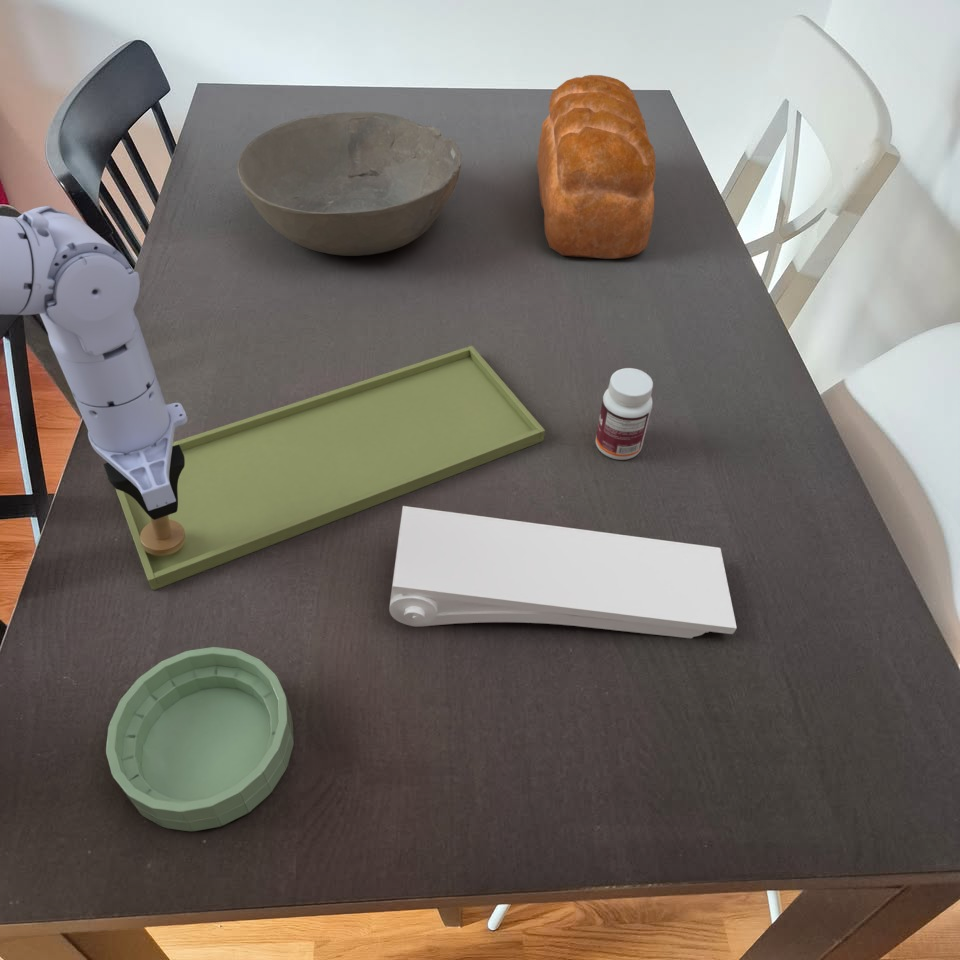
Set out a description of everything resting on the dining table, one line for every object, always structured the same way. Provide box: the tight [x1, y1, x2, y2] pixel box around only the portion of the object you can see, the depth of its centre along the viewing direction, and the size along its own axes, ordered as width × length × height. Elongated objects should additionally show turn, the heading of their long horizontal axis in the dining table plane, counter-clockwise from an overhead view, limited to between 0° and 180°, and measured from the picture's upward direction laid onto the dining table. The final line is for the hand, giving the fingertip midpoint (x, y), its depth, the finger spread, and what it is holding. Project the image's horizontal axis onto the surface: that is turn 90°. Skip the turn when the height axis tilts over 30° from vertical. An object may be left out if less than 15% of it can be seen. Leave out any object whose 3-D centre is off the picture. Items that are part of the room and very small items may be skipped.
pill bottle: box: [595, 367, 654, 461], centre depth 81 cm, size 5×5×8 cm
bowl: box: [236, 111, 462, 257], centre depth 107 cm, size 28×28×10 cm
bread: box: [536, 74, 656, 260], centre depth 110 cm, size 14×26×16 cm, turn 0°
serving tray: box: [114, 345, 546, 591], centre depth 81 cm, size 39×15×2 cm, turn 119°
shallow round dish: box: [105, 646, 295, 832], centre depth 60 cm, size 12×12×4 cm
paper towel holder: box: [140, 515, 185, 556], centre depth 69 cm, size 4×4×9 cm
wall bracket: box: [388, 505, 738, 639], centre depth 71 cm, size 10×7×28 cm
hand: (161, 505), depth 69 cm, fingers closed on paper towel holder
